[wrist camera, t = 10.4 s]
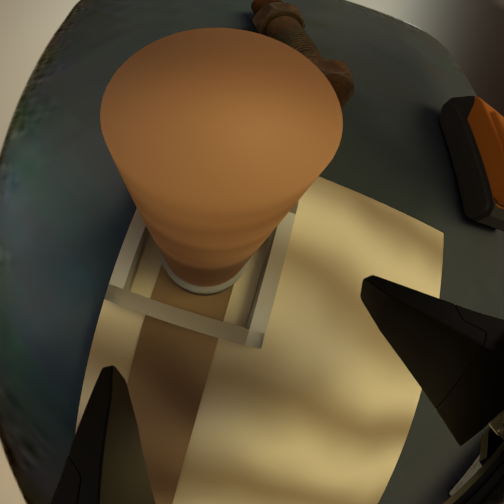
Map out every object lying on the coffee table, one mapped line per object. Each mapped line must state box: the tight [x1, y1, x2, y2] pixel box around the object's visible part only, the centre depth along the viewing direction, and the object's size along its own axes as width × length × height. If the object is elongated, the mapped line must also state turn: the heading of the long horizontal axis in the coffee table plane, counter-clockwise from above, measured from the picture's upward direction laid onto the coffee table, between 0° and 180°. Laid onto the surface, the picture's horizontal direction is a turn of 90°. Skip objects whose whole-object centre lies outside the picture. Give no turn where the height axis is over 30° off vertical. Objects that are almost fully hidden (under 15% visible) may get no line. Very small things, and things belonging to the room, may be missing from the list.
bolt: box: [251, 0, 354, 107], centre depth 20 cm, size 6×5×15 cm
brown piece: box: [100, 28, 343, 296], centre depth 10 cm, size 4×4×12 cm
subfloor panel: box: [75, 177, 444, 504], centre depth 14 cm, size 28×21×3 cm
